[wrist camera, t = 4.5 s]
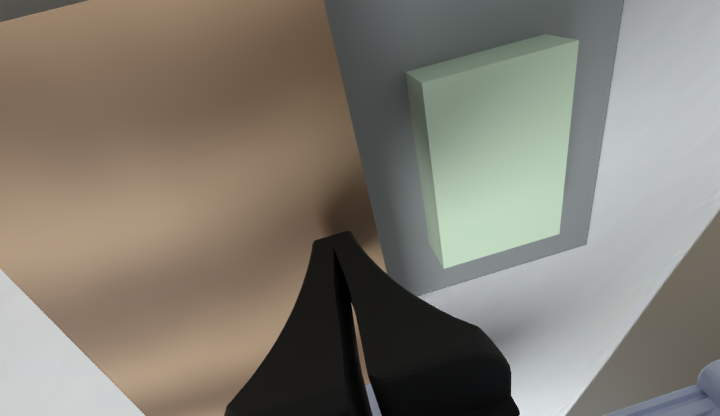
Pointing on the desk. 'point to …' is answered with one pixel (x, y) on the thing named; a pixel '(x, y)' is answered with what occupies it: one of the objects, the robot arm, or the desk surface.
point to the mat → (394, 122)
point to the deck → (175, 183)
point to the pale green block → (493, 145)
